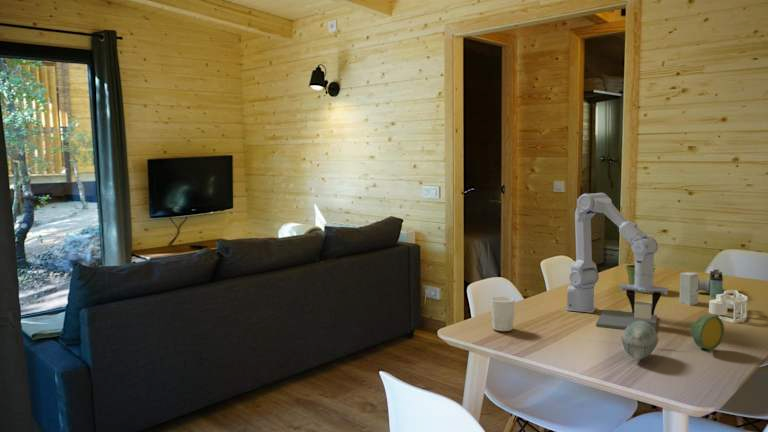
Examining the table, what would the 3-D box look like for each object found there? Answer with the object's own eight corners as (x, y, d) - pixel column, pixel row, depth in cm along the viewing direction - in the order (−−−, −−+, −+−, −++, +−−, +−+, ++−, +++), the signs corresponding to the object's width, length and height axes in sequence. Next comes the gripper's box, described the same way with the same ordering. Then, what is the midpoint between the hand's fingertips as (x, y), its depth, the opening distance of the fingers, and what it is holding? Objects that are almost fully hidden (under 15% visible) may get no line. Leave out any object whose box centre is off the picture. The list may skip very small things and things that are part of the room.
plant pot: (657, 291, 244) (657, 265, 243) (653, 297, 234) (653, 270, 233) (627, 288, 250) (627, 263, 249) (622, 294, 240) (622, 267, 239)
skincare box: (689, 306, 219) (690, 275, 218) (678, 304, 222) (679, 273, 221) (698, 304, 222) (699, 273, 221) (687, 302, 226) (688, 271, 225)
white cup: (500, 333, 190) (500, 303, 189) (485, 327, 197) (485, 298, 196) (519, 329, 193) (519, 300, 192) (504, 323, 200) (504, 295, 199)
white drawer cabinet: (634, 317, 194) (634, 303, 193) (635, 313, 198) (635, 300, 198) (651, 319, 191) (651, 305, 191) (651, 315, 196) (652, 301, 195)
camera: (695, 290, 246) (696, 266, 245) (721, 292, 242) (722, 268, 241) (694, 298, 232) (695, 273, 231) (722, 300, 227) (723, 275, 226)
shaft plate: (596, 326, 195) (596, 314, 195) (603, 312, 213) (603, 301, 213) (654, 332, 187) (655, 320, 187) (657, 317, 205) (657, 305, 204)
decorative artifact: (700, 352, 168) (701, 318, 167) (679, 345, 174) (680, 312, 173) (723, 347, 172) (724, 314, 171) (702, 340, 178) (703, 309, 177)
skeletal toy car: (718, 307, 218) (719, 288, 217) (752, 312, 211) (753, 292, 210) (705, 318, 203) (706, 298, 202) (742, 324, 196) (743, 303, 195)
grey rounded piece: (625, 336, 176) (624, 309, 172) (660, 341, 171) (660, 313, 167) (618, 365, 165) (617, 337, 161) (655, 371, 161) (655, 342, 156)
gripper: (619, 274, 193) (618, 313, 194) (667, 277, 187) (666, 318, 188) (621, 270, 199) (620, 309, 201) (668, 273, 193) (667, 313, 194)
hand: (643, 313), depth 195 cm, fingers closed on white drawer cabinet, 5 cm apart
